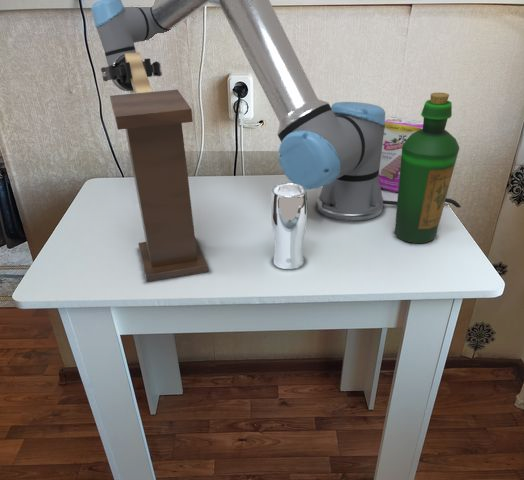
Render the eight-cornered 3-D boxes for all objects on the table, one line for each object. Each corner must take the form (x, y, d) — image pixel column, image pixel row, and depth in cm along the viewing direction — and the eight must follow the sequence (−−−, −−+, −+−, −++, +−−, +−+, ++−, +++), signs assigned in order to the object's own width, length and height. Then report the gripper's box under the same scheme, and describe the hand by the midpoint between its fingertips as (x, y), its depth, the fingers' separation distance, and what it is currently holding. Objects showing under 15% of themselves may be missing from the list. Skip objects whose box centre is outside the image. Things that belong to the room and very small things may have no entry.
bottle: (441, 249, 106) (473, 103, 89) (389, 245, 108) (410, 101, 91) (438, 226, 114) (467, 88, 97) (389, 223, 116) (409, 87, 99)
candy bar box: (369, 188, 132) (377, 120, 122) (377, 181, 136) (385, 115, 125) (411, 196, 127) (423, 127, 117) (418, 189, 131) (430, 121, 120)
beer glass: (264, 262, 104) (262, 190, 94) (286, 250, 108) (287, 179, 98) (290, 274, 100) (291, 200, 90) (312, 261, 104) (316, 188, 94)
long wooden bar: (123, 68, 108) (120, 46, 105) (144, 66, 109) (141, 44, 106) (142, 130, 97) (139, 108, 94) (165, 127, 98) (163, 106, 95)
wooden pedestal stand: (139, 249, 109) (109, 95, 91) (195, 240, 112) (177, 89, 93) (147, 282, 99) (115, 116, 80) (208, 271, 101) (191, 108, 83)
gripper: (166, 87, 125) (182, 86, 105) (98, 94, 121) (101, 94, 101) (160, 51, 121) (176, 43, 101) (90, 57, 117) (91, 50, 97)
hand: (138, 69), depth 101 cm, fingers closed on long wooden bar, 3 cm apart
